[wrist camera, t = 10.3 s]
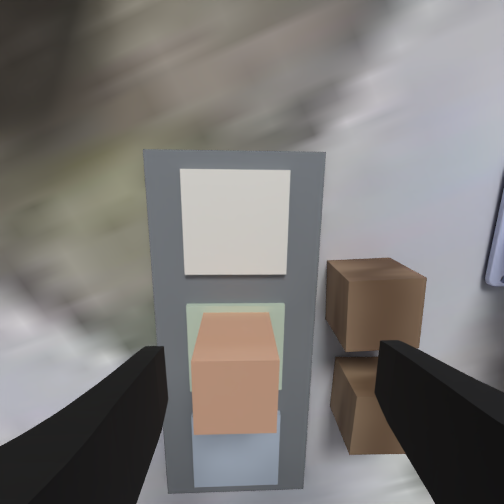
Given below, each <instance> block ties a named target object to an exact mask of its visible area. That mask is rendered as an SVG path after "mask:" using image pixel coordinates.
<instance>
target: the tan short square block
mask: <svg viewBox="0 0 504 504" xmlns="http://www.w3.org/2000/svg"><path fill="white" fill-rule="evenodd" d="M279 366H280V359H279V355H278V350H277V346H276V341H275V337H274V333H273V328H272V324H271V319H270V315H269V312H220V313H203V316H202V320H201V324H200V328H199V332H198V336H197V340H196V343H195V347H194V351H193V355H192V359H191V377H192V404H193V430H194V435H213V434H256V433H277V412H278V389H279Z"/></svg>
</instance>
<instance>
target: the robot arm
mask: <svg viewBox="0 0 504 504" xmlns="http://www.w3.org/2000/svg"><path fill="white" fill-rule="evenodd" d="M502 276H503V279H502V280H501V277H502ZM485 281H486V283H487V284H489V285H491V286H504V190H503V195H502V199H501V204H500V209H499V214H498V218H497V223H496V228H495V233H494V237H493V242H492V247H491V252H490V257H489V261H488V266H487V271H486V276H485ZM374 393H375V396H376V398H377V400H378V403H379V405H380V408H381V410H382V412H383V414H384V416H385V419H386V421H387V423H388V425H389V426H390V428H391V430H392V432H393V433H394V435H395V437H396V438H397V440H398V442H399V443H400V445H401V447H402V449H403V450H404V452H405V454H406V455H407V457H408V459H409V460H410V462H411V464H412V465H413V467H414V469H415V470H416V472H417V474H418V475H419V477H420V479H421V480H422V482H423V484H424V485H425V487H426V489H427V490H428V492H429V494H430V495H431V497H432V499H433V501H434V502H435V504H504V393H503V392H501V391H499V390H497V389H495V388H493V387H491V386H489V385H487V384H484V383H482V382H480V381H478V380H476V379H474V378H472V377H470V376H468V375H466V374H464V373H462V372H460V371H459V370H457V369H455V368H453V367H451V366H449V365H447V364H445V363H443V362H441V361H439V360H438V359H436V358H434V357H432V356H430V355H428V354H426V353H424V352H422V351H420V350H418V349H416V348H415V347H413V346H410V345H408V344H406V343H404V342H402V341H399V340H380V346H379V355H378V364H377V373H376V382H375V391H374ZM167 404H168V388H167V376H166V364H165V353H164V346H145V347H144V348H142V349H141V350H140V351H138V352H137V353H136V354H134V355H133V356H132V357H131V358H130V359H128V360H127V361H126V362H125V363H123V364H122V365H121V366H120V367H118V368H117V369H116V370H115V371H113V372H112V373H111V374H110V375H108V376H107V377H106V378H104V379H103V380H102V381H101V382H99V383H98V384H97V385H95V386H94V387H93V388H91V389H90V390H88V391H87V392H86V393H84V394H83V395H81V396H80V397H79V398H77V399H76V400H75V401H73V402H72V403H70V404H69V405H68V406H66V407H65V408H63V409H62V410H60V411H59V412H57V413H56V414H54V415H53V416H51V417H50V418H48V419H46V420H45V421H43V422H41V423H40V424H38V425H37V426H35V427H33V428H32V429H30V430H28V431H27V432H25V433H23V434H22V435H20V436H18V437H16V438H15V439H13V440H11V441H9V442H7V443H5V444H4V445H2V446H0V504H136V503H137V500H138V497H139V495H140V492H141V489H142V486H143V483H144V480H145V477H146V474H147V472H148V469H149V466H150V463H151V460H152V457H153V454H154V452H155V449H156V446H157V443H158V440H159V437H160V434H161V431H162V427H163V422H164V418H165V414H166V409H167Z"/></svg>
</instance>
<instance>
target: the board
mask: <svg viewBox="0 0 504 504" xmlns="http://www.w3.org/2000/svg"><path fill="white" fill-rule="evenodd" d="M143 157H144V171H145V184H146V198H147V212H148V225H149V239H150V253H151V266H152V280H153V294H154V308H155V321H156V335H157V346H164V353H165V364H166V376H167V388H168V404H167V409H166V414H165V418H164V422H163V431H164V444H165V458H166V472H167V485H168V494H171V493H199V492H227V491H255V490H283V489H303V485H304V470H305V455H306V440H307V425H308V411H309V396H310V381H311V366H312V351H313V336H314V321H315V306H316V292H317V277H318V262H319V247H320V232H321V217H322V202H323V187H324V172H325V158H326V152H291V151H224V150H158V149H143ZM220 312H269V315H270V319H271V324H272V328H273V333H274V337H275V341H276V346H277V350H278V355H279V359H280V366H279V389H278V412H277V433H256V434H213V435H194V430H193V404H192V377H191V359H192V355H193V351H194V347H195V343H196V340H197V336H198V332H199V328H200V324H201V320H202V316H203V313H220Z"/></svg>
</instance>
